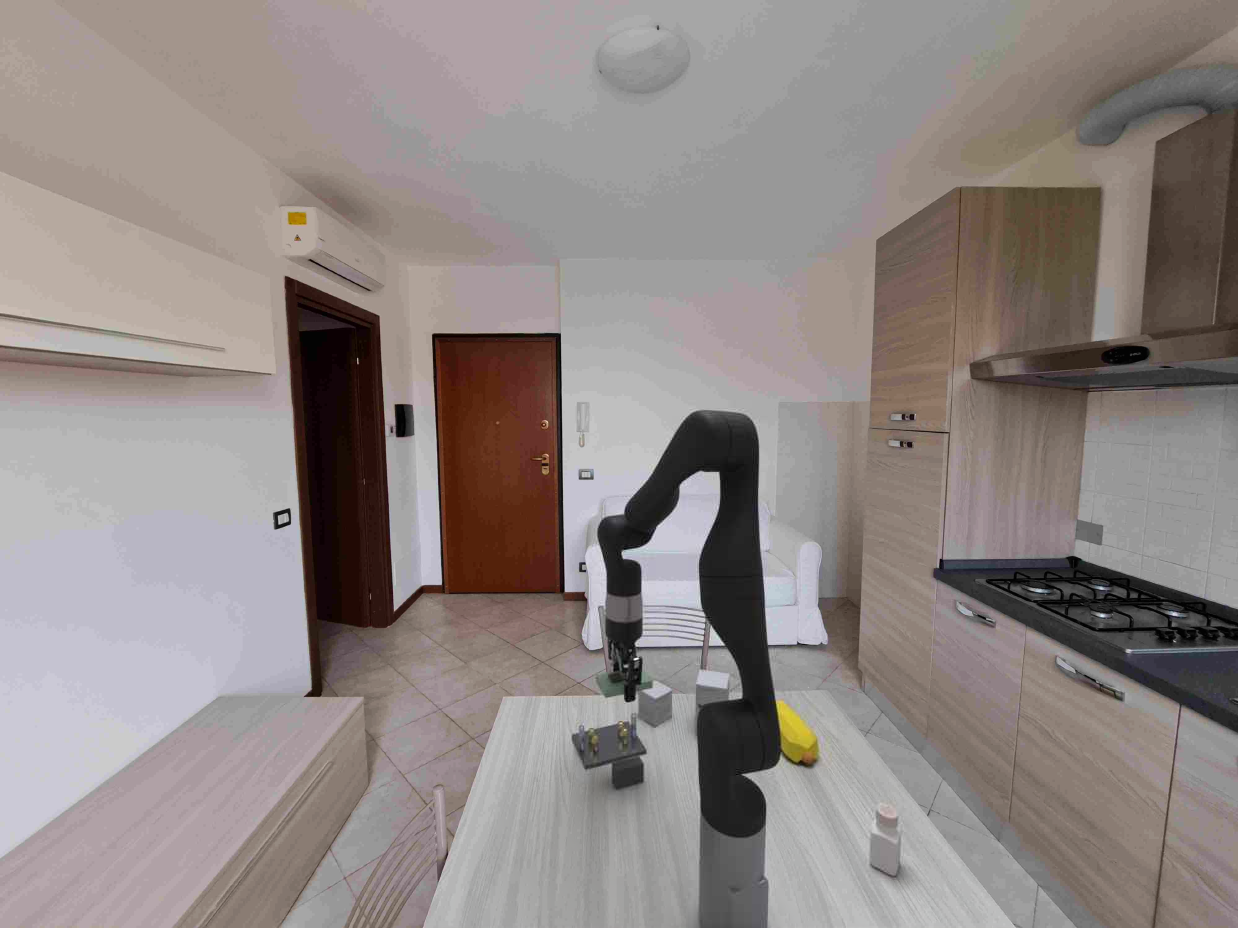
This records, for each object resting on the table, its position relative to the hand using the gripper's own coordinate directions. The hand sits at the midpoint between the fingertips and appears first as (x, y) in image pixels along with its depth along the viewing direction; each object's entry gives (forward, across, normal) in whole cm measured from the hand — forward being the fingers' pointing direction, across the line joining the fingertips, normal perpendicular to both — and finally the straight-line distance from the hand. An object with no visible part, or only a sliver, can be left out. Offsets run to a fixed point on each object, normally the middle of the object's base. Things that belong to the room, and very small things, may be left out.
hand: (623, 691), depth 100 cm
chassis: (+18, +10, 0) cm, 20 cm away
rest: (+18, -2, 0) cm, 18 cm away
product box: (+18, +16, -14) cm, 28 cm away
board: (-2, 0, 0) cm, 2 cm away
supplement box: (+18, +7, -25) cm, 32 cm away
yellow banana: (+18, -3, -39) cm, 43 cm away
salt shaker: (+18, -34, -33) cm, 51 cm away
